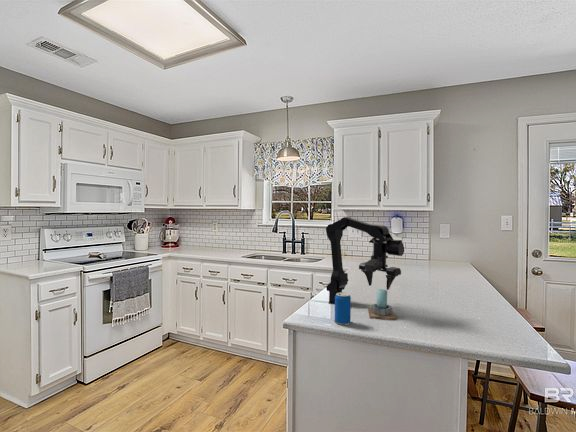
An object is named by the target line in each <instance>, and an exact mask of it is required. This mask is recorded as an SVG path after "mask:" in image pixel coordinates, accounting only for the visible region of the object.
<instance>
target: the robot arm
mask: <svg viewBox="0 0 576 432" xmlns="http://www.w3.org/2000/svg"><path fill="white" fill-rule="evenodd" d="M348 227H349V228H353V229H355V230H358V231H360V232H361V231H362V232H364V233H367V234H368V235H369V236H370V237H371V239H370V240H369V241H368V243H370V244H373V246H372V247H373V249H372V254H371V256H370V259H369V260H367V261H366V262H365V261H364V262H360V263H359V264H358V270H361V272H362V273H364V274H365V277H366V280H367V283H368V286H372V283H373V275H374V273H375V272H376V271H378V272H383V273H385V274H386V275H385V278H386V290H387V291H389V290H390V288H391V285H392V284H393V281H394V280H395V278H396V277H398V276H401V274H402V269H401V268H400V267H396V266H391V267H388V264H387V259H388V257H389V256H388V255H390V256H395V257H396V256H397V257H403V255H404V253H405V246H404V243H403V240H402V239H397V240H396V239H394V238H393V236H392V234H391V233H390V230H389V228H388V227H387V226H386V225H382V224H371V223H368V222H364V221H361V220H357V219H354V218H352V217H350V216H344V217H342V218H340V219H339V220H337V221H335V222H333V223H329V224H327V226H326V227H325V231H326V236H327V238H328V240H329V242H330V249H331V252H330V253H331V261H332V272H331V275H330V282H329V283H328V284H327V285H326V291H327V292H329V293H328V295H329V296H328V297H329V298H328V304H330V303H333V304H334V305H335V296H336V293H340V292H343V290H345V288H346V286H347V285H348V282H349V279H348V277H349V276H348V275H349V274H348V272H345V271H344V269H343V267H344V266H343V257H342V255H343V254H342V245H341V240H342V238H343V231H344V230H346V229H347V228H348Z"/></svg>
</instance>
